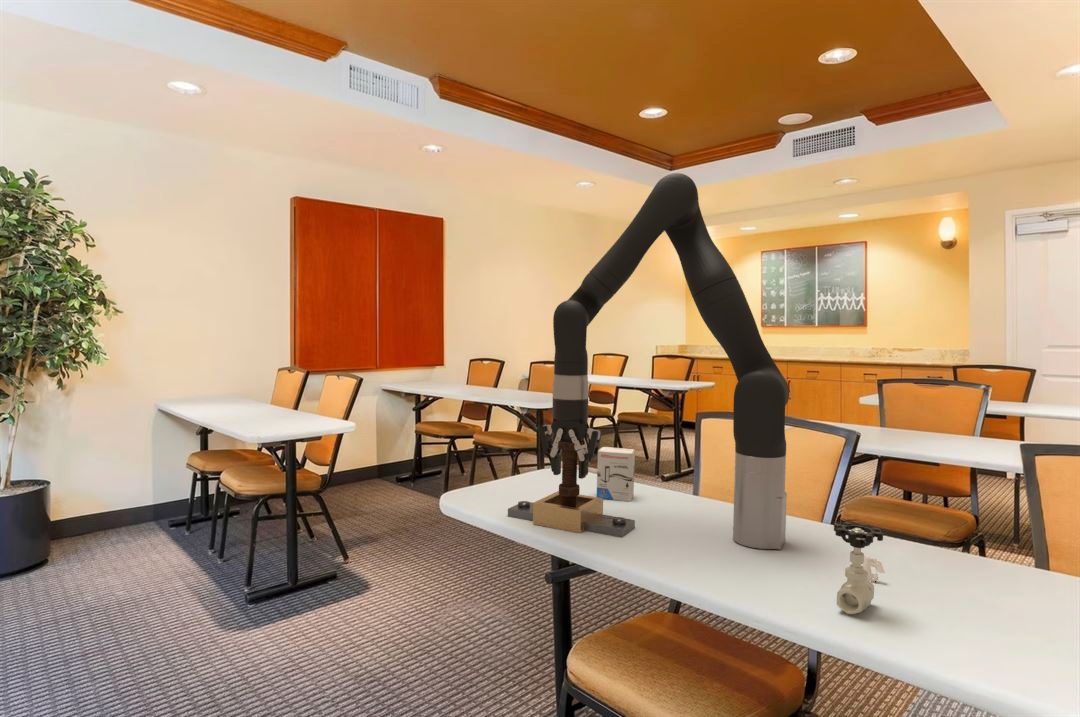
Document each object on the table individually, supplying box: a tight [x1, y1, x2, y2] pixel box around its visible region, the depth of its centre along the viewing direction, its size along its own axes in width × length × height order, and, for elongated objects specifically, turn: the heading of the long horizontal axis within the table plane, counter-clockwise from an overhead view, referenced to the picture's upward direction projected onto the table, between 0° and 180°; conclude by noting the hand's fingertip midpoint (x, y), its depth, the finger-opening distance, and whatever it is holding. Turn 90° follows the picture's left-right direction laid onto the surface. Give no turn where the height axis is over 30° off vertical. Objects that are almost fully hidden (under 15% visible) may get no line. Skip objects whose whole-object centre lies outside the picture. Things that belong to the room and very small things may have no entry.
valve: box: [833, 521, 884, 615], centre depth 92 cm, size 7×7×12 cm
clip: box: [861, 555, 885, 583], centre depth 103 cm, size 5×2×4 cm, turn 41°
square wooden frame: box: [532, 490, 604, 534], centre depth 132 cm, size 11×11×4 cm
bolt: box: [558, 441, 582, 508], centre depth 132 cm, size 6×5×15 cm
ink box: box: [596, 446, 636, 502], centre depth 151 cm, size 9×5×12 cm, turn 73°
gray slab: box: [507, 500, 534, 522], centre depth 137 cm, size 8×7×2 cm
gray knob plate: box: [585, 513, 636, 538], centre depth 128 cm, size 9×7×2 cm
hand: (569, 475), depth 132 cm, fingers closed on bolt, 5 cm apart
